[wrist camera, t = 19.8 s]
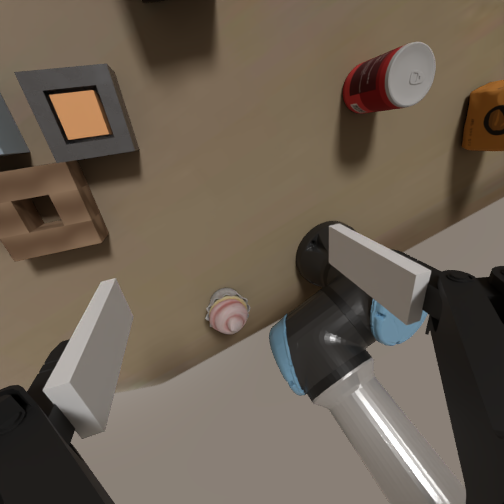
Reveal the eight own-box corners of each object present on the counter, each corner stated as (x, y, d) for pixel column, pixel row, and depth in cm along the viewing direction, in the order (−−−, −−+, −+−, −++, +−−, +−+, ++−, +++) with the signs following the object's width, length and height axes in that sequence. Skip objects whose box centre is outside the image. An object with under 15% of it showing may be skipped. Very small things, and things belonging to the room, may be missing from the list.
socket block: (108, 233, 42) (101, 242, 38) (30, 249, 40) (14, 261, 36) (77, 159, 37) (65, 161, 33) (-15, 174, 35) (-40, 178, 31)
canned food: (380, 108, 46) (433, 99, 36) (342, 119, 45) (387, 113, 35) (380, 58, 43) (439, 34, 33) (339, 69, 42) (388, 48, 32)
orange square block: (114, 134, 36) (109, 133, 33) (77, 139, 35) (68, 139, 32) (100, 94, 34) (93, 90, 31) (60, 99, 33) (49, 95, 30)
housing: (139, 149, 38) (135, 150, 34) (69, 160, 37) (56, 163, 33) (114, 72, 34) (106, 63, 30) (34, 80, 32) (14, 72, 28)
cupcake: (199, 286, 51) (204, 316, 42) (242, 277, 53) (255, 304, 44) (206, 321, 55) (211, 355, 46) (246, 311, 57) (258, 342, 48)
